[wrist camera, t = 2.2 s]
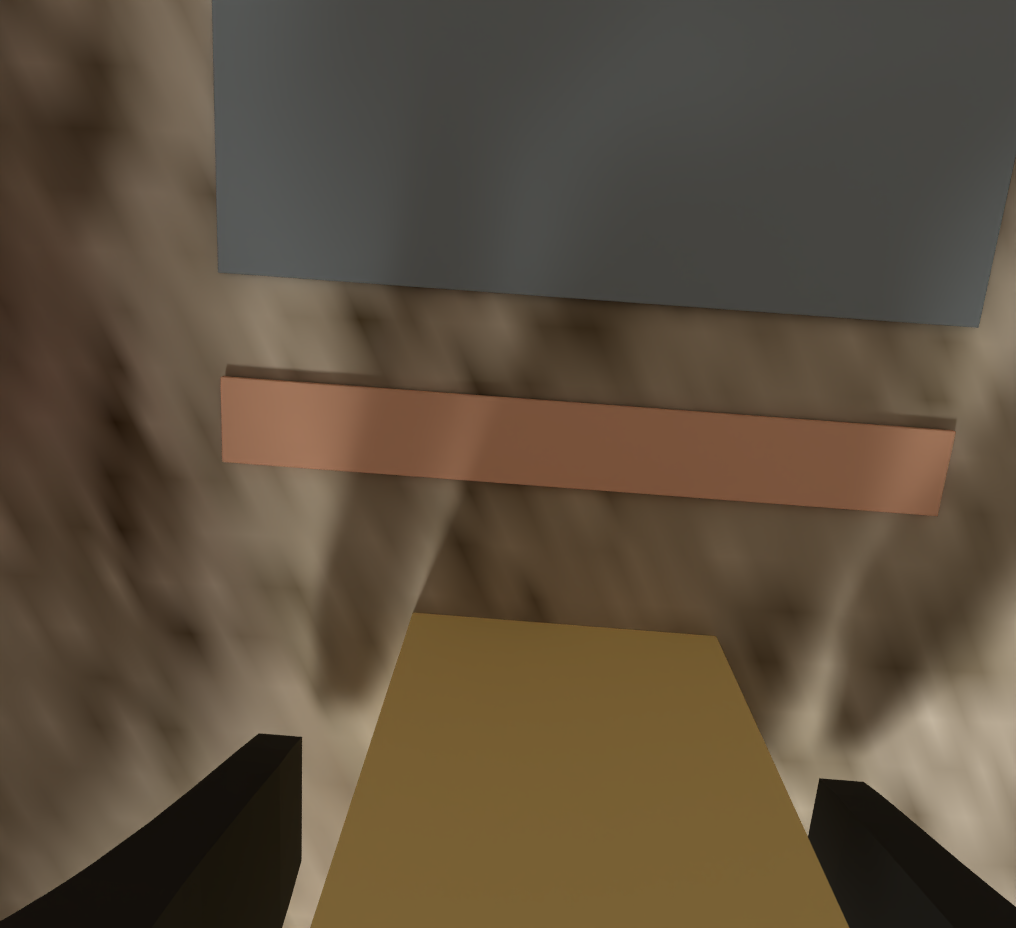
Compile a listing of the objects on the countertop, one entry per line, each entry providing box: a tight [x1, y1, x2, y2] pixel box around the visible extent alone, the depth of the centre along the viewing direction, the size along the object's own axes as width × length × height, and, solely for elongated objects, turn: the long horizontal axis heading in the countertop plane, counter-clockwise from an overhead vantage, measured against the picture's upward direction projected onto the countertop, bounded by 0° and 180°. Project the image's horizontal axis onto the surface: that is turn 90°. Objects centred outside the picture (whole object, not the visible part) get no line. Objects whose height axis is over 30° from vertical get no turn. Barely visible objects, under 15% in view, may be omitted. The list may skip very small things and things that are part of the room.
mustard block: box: [310, 613, 849, 928], centre depth 10 cm, size 4×4×6 cm
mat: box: [212, 0, 1016, 516], centre depth 10 cm, size 11×10×1 cm
